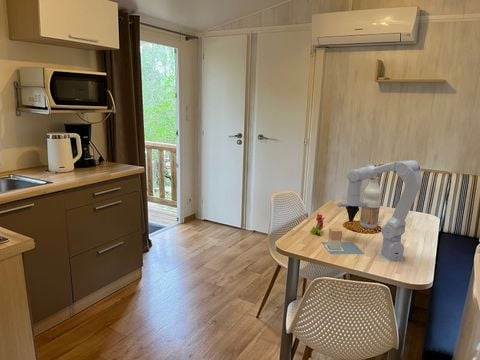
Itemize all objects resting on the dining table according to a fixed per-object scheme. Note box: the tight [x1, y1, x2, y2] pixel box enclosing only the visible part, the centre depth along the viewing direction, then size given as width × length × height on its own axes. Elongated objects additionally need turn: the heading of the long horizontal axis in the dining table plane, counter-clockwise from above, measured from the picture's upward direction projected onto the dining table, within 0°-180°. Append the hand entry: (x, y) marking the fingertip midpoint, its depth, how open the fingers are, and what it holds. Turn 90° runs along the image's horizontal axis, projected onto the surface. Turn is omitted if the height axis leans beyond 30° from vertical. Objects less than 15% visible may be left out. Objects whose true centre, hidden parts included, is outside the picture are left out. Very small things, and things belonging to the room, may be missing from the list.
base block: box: [327, 237, 342, 250], centre depth 167 cm, size 4×4×4 cm
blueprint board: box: [320, 241, 365, 255], centre depth 168 cm, size 14×16×1 cm
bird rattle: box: [309, 213, 326, 237], centre depth 185 cm, size 6×11×9 cm
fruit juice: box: [359, 176, 382, 230], centre depth 198 cm, size 9×9×28 cm
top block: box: [328, 227, 343, 242], centre depth 166 cm, size 4×4×4 cm
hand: (350, 220), depth 176 cm, fingers closed
